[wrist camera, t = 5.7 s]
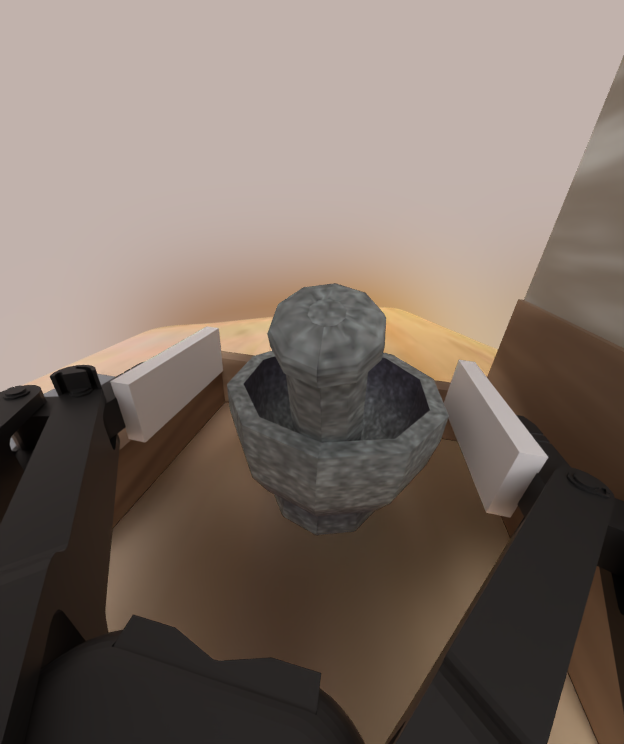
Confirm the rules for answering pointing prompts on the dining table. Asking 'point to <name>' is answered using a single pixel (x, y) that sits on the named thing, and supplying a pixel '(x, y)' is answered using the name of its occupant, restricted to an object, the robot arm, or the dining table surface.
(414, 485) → the dining table surface
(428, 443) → the mortar and pestle
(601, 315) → the brown piece
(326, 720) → the robot arm
